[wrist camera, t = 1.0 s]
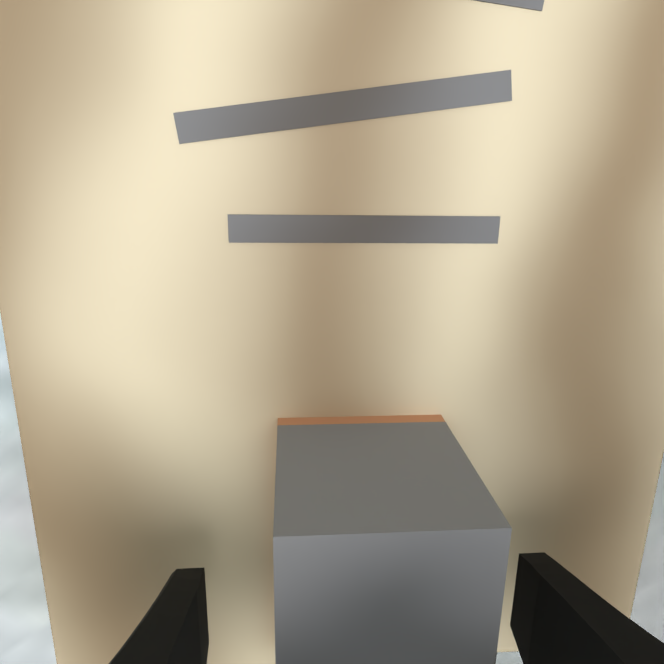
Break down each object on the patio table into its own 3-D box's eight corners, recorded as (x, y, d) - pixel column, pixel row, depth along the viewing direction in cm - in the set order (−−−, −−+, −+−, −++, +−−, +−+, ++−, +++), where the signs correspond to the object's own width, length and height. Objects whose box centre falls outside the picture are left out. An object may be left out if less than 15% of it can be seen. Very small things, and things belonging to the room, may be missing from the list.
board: (803, -537, 10) (890, -656, 9) (597, 606, 18) (625, 646, 16) (-105, -647, 9) (-181, -807, 8) (78, 632, 16) (58, 678, 15)
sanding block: (440, 414, 14) (511, 528, 9) (423, 642, 16) (476, 823, 11) (277, 418, 13) (272, 536, 9) (281, 650, 15) (279, 838, 11)
